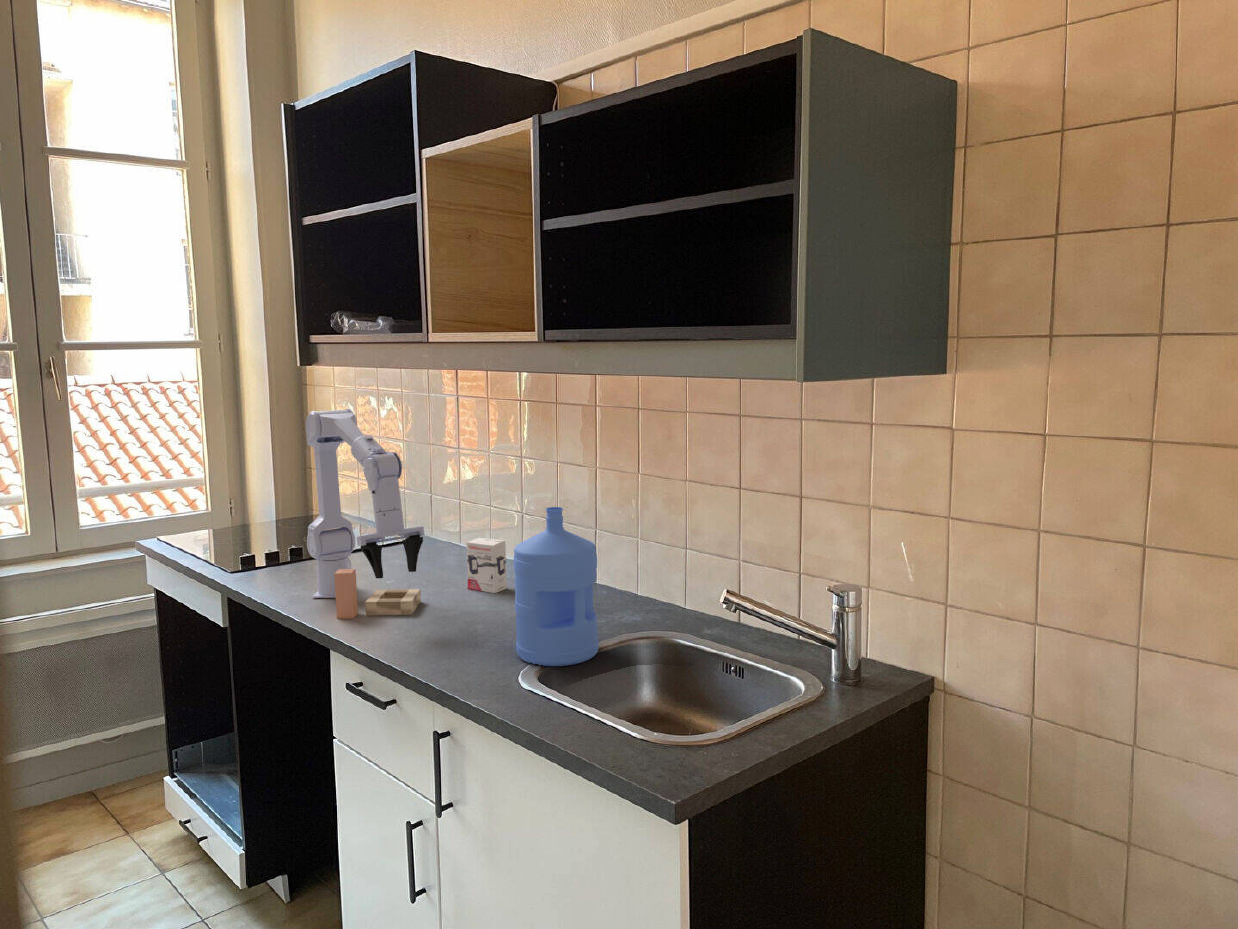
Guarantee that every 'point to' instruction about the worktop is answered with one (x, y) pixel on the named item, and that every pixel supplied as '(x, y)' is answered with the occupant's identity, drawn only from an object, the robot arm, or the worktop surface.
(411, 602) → the socket block
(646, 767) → the worktop surface
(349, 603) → the peg
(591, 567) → the water jug
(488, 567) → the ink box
